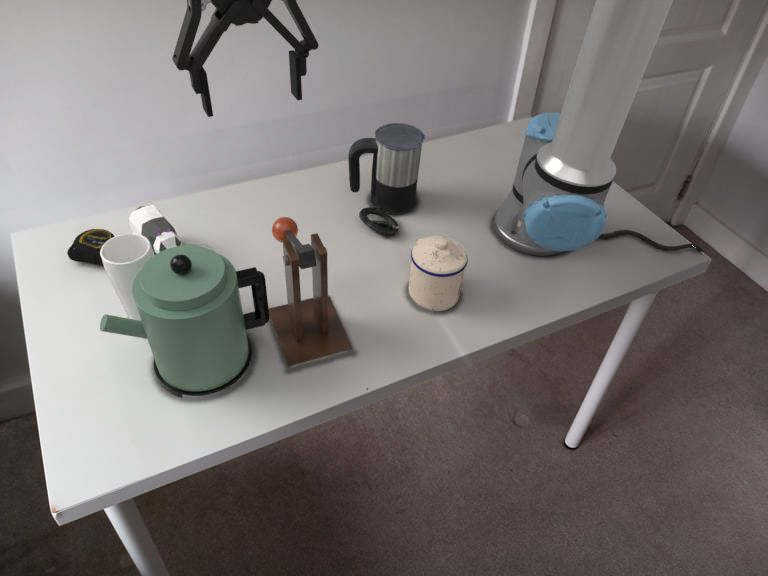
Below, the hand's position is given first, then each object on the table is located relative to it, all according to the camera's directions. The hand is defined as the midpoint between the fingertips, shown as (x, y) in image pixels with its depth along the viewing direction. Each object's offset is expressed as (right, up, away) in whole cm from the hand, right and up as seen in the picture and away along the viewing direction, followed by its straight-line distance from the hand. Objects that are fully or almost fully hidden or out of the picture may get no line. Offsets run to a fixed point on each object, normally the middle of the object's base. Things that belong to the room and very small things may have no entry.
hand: (253, 104), depth 89 cm
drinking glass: (-17, -33, +4) cm, 37 cm away
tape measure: (-30, -23, +14) cm, 40 cm away
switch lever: (+6, -22, -1) cm, 23 cm away
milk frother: (+20, -13, +27) cm, 36 cm away
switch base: (+8, -34, +4) cm, 35 cm away
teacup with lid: (+27, -27, +13) cm, 41 cm away
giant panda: (-19, -23, +14) cm, 33 cm away
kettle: (-7, -38, -1) cm, 39 cm away
